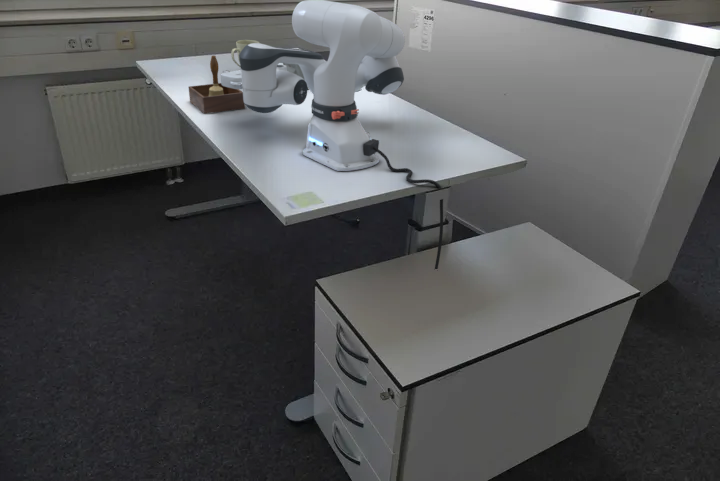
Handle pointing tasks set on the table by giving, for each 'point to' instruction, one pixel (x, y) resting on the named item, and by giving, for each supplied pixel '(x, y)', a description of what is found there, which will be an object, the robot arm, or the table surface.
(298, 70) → the digital clock
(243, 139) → the table surface
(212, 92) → the hand bell
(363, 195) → the table surface
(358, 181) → the table surface
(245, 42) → the mug
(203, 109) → the crate
